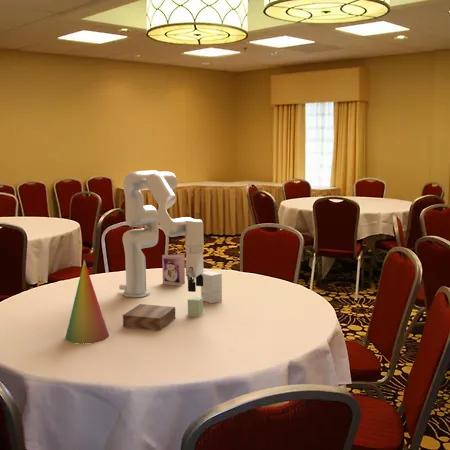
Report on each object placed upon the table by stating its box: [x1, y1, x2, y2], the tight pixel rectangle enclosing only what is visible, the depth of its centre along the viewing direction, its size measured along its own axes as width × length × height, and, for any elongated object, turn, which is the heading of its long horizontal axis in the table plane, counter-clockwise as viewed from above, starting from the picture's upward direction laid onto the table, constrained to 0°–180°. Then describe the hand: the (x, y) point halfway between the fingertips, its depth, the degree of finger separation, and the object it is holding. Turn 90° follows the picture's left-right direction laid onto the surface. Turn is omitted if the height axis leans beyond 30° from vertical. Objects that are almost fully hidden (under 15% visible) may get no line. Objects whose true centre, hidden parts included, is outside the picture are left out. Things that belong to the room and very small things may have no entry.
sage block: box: [187, 296, 204, 317], centre depth 248 cm, size 5×5×7 cm
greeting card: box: [161, 253, 186, 287], centre depth 300 cm, size 11×7×15 cm, turn 62°
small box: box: [200, 270, 223, 304], centre depth 268 cm, size 8×6×13 cm
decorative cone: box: [65, 260, 110, 345], centre depth 219 cm, size 16×16×30 cm
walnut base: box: [122, 303, 176, 332], centre depth 237 cm, size 16×16×5 cm
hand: (195, 288), depth 247 cm, fingers open, 9 cm apart
